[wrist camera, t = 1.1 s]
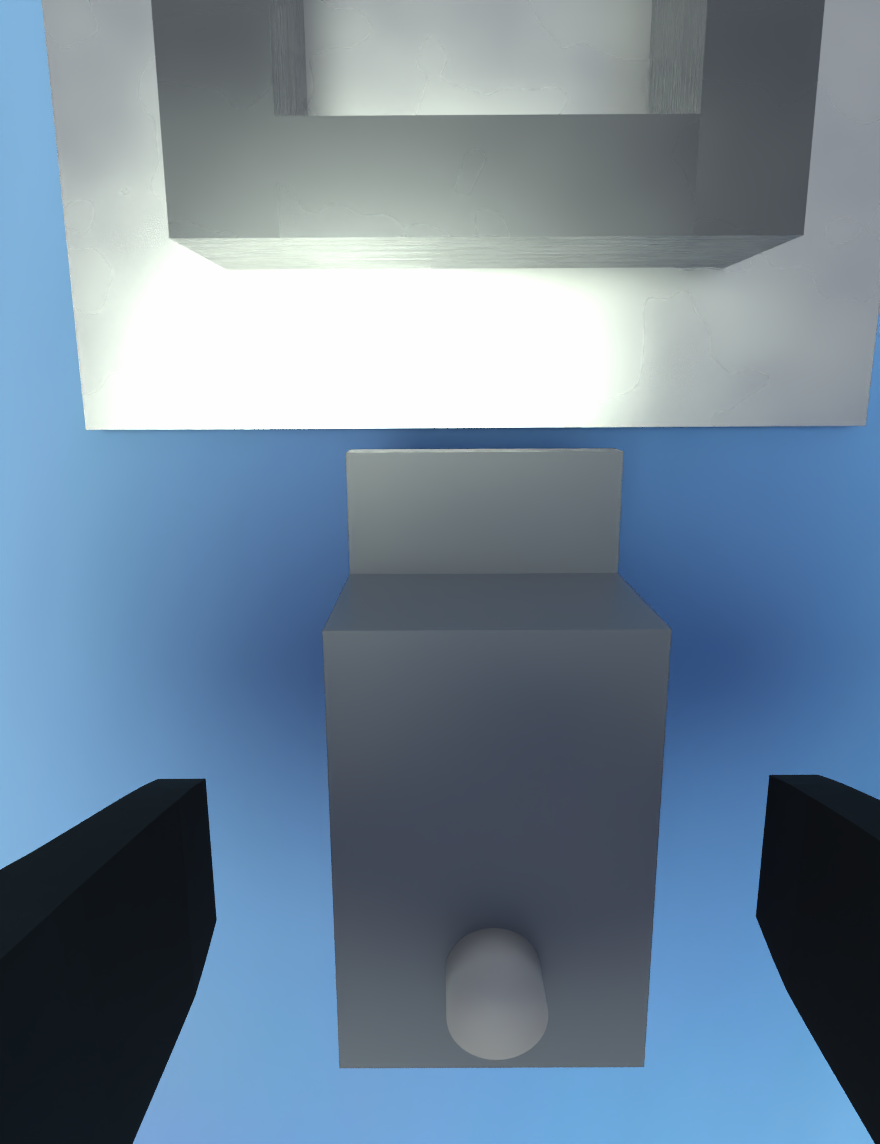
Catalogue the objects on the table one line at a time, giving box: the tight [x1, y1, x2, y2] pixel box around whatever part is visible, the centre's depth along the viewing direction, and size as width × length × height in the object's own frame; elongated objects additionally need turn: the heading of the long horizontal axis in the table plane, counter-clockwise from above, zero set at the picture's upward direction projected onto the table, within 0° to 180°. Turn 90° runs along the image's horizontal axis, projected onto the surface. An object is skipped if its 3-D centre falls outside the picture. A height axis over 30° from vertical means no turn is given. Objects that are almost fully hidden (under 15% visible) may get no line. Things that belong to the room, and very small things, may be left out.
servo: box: [322, 448, 672, 1068], centre depth 13 cm, size 4×10×7 cm, turn 0°
